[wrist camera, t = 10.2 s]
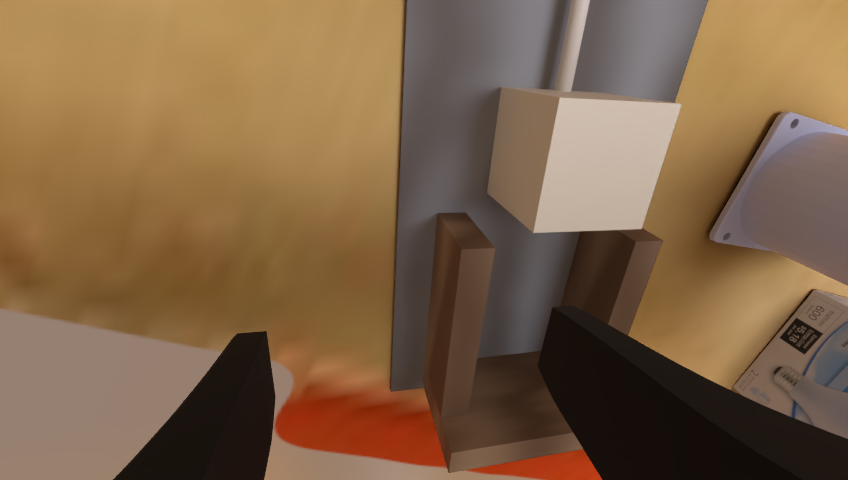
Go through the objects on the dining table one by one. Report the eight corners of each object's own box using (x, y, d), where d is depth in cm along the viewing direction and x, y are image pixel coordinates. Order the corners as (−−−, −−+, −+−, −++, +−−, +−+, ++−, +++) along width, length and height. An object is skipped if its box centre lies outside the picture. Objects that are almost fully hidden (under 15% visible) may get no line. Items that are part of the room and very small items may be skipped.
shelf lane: (728, -73, 17) (917, -129, 11) (585, 364, 28) (648, 442, 22) (411, -131, 14) (467, -244, 8) (390, 389, 25) (408, 486, 19)
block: (665, -194, 15) (858, -335, 9) (574, 192, 21) (659, 239, 16) (543, -225, 13) (685, -407, 8) (486, 192, 20) (545, 243, 14)
